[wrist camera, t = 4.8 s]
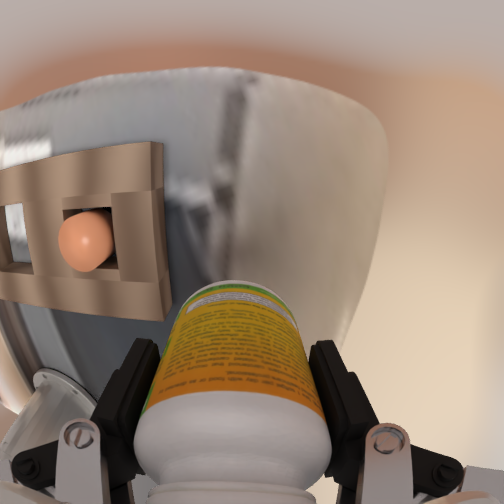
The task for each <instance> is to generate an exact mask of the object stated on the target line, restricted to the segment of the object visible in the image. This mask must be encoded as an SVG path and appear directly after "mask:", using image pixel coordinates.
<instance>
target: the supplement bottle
mask: <svg viewBox="0 0 504 504" xmlns="http://www.w3.org/2000/svg"><path fill="white" fill-rule="evenodd" d="M134 451H135V455H136V458H137V460H138V462H139V465H140V466H141V468H142V469H143V471H144V472H145V473H146V474H147V475H148V476H149V477H150V478H151V479H152V480H153V481H154V482H156V483H157V484H158V485H159V486H157V487H154V488H153V489H151V490H150V492H149V494H148V499H147V501H146V504H316V499H315V497H314V496H313V495H312V494H311V493H309V492H307V491H305V490H306V489H308V488H309V487H311V486H312V485H313V484H314V483H315V482H317V481H318V480H319V479H320V477H321V476H322V475H323V474H324V472H325V471H326V469H327V467H328V465H329V462H330V459H331V454H332V445H331V439H330V435H329V431H328V427H327V423H326V419H325V416H324V412H323V409H322V406H321V403H320V399H319V396H318V393H317V390H316V386H315V383H314V380H313V376H312V373H311V370H310V367H309V363H308V360H307V357H306V353H305V350H304V347H303V344H302V340H301V337H300V334H299V331H298V328H297V325H296V322H295V319H294V317H293V314H292V312H291V310H290V309H289V307H288V306H287V304H286V303H285V302H284V301H283V300H282V299H281V298H280V297H279V296H278V295H277V294H276V293H275V292H273V291H272V290H270V289H268V288H266V287H264V286H262V285H260V284H257V283H253V282H249V281H242V280H226V281H220V282H216V283H213V284H210V285H207V286H205V287H203V288H201V289H200V290H198V291H197V292H195V293H194V294H193V295H191V296H190V297H189V298H188V299H187V301H186V302H185V303H184V304H183V306H182V308H181V309H180V311H179V313H178V316H177V318H176V320H175V323H174V325H173V328H172V331H171V333H170V336H169V339H168V341H167V344H166V347H165V349H164V352H163V355H162V358H161V360H160V363H159V366H158V368H157V371H156V374H155V377H154V379H153V382H152V385H151V388H150V391H149V393H148V396H147V399H146V402H145V404H144V407H143V410H142V413H141V415H140V419H139V422H138V425H137V428H136V432H135V436H134Z"/></svg>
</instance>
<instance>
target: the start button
mask: <svg viewBox="0 0 504 504" xmlns="http://www.w3.org/2000/svg"><path fill="white" fill-rule="evenodd" d="M58 242H59V248H60V251H61V254H62V256H63V258H64V259H65V261H66V262H67V263H68V264H69V265H70V266H71V267H72V268H74V269H75V270H78V271H81V272H89V271H92V270H93V269H95V268H96V267H97V266H99V265H100V264H101V263H102V262H104V261H105V260H106V259H108V258H109V257H110V256H111V255H113V254H114V253H115V252H116V246H115V238H114V229H113V219H112V214H110V213H109V212H108V211H106V210H104V209H102V208H93V209H90V210H87V211H85V212H82V213H79V214H77V215H74V216H72V217H70V218H68V219H66V220H65V221H64V222H63V224H62V225H61V228H60V230H59V236H58Z"/></svg>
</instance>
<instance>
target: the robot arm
mask: <svg viewBox="0 0 504 504" xmlns="http://www.w3.org/2000/svg"><path fill="white" fill-rule="evenodd" d="M159 363H160V355H159V350H158V346H157V344H155V343H153V341H152V340H151V339H141V338H137V339H136V340H135V341H134V343H133V345H132V347H131V349H130V351H129V352H128V354H127V356H126V358H125V360H124V362H123V364H122V366H121V368H120V370H119V369H117V370H115V371H114V372H113V374H112V376H111V378H110V380H109V382H108V384H107V386H106V387H105V389H104V391H103V393H102V395H101V397H100V399H99V401H98V403H96V401H95V400H94V399H93V398H92V397H91V395H90V394H88V393H87V392H86V391H85V390H84V389H83V388H82V387H81V386H80V385H78V384H77V383H76V382H74V381H73V380H72V379H70V378H68V377H67V376H65V375H63V374H61V373H59V372H57V371H54V370H52V369H47V368H42V369H39V370H38V371H37V372H36V373H35V375H34V377H33V383H34V387H35V389H36V391H35V392H34V394H33V395H32V396H31V398H30V399H29V401H28V402H27V404H26V405H25V406H24V408H23V409H22V411H21V412H20V414H19V415H18V417H17V418H16V420H15V422H14V423H13V424H12V426H11V428H10V429H9V431H8V432H7V434H6V436H5V437H4V439H3V441H2V442H1V444H0V504H135V502H134V496H133V490H132V483H131V480H133V479H135V476H136V474H141V475H145V474H146V473H145V472H144V471H143V469H142V468H141V466H140V465H139V462H138V460H137V458H136V455H135V451H134V436H135V432H136V428H137V425H138V422H139V419H140V415H141V413H142V410H143V407H144V404H145V402H146V399H147V396H148V393H149V391H150V388H151V385H152V382H153V379H154V377H155V374H156V371H157V368H158V366H159ZM308 363H309V367H310V370H311V373H312V376H313V380H314V383H315V386H316V390H317V393H318V396H319V399H320V403H321V406H322V409H323V412H324V416H325V419H326V423H327V427H328V431H329V435H330V439H331V445H332V454H331V459H330V462H329V465H328V467H327V469H326V471H325V472H324V475H325V477H326V478H327V477H332V476H333V478H334V482H336V483H338V484H339V489H338V494H337V500H336V504H504V471H502V470H494V469H486V468H479V467H474V466H468V465H467V466H466V467H465V468H463V467H462V465H461V463H460V462H459V461H457V460H456V459H454V458H451V457H448V456H444V455H442V454H438V453H435V452H432V451H429V450H426V449H423V448H420V447H417V446H414V445H412V444H410V439H409V436H408V434H407V432H406V431H405V430H404V429H403V428H402V427H400V426H398V425H396V424H391V423H382V424H380V423H379V421H378V419H377V417H376V415H375V413H374V410H373V408H372V406H371V404H370V402H369V400H368V398H367V396H366V394H365V392H364V390H363V388H362V386H361V383H360V381H359V379H358V377H357V375H356V374H355V373H354V372H348V371H347V369H346V367H345V365H344V363H343V361H342V359H341V356H340V354H339V352H338V350H337V348H336V346H335V344H334V342H333V340H324V341H317V342H316V345H312V346H311V350H310V356H309V362H308Z"/></svg>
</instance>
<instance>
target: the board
mask: <svg viewBox="0 0 504 504" xmlns="http://www.w3.org/2000/svg"><path fill="white" fill-rule="evenodd" d="M17 203H22V204H23V213H24V221H25V228H26V235H27V241H28V246H29V252H30V257H31V261H32V263H23V262H13V258H12V253H11V248H10V243H9V237H8V231H7V225H6V217H5V209H4V205H11V204H17ZM95 207H112V219H113V229H114V238H115V246H116V254H117V257H114V256H110V257H109V258H108V259H106V260H105V261H104V262H102V263H101V264H100V265H99V266H97V267H96V268H95V269H93V270H92V271H89V272H81V271H78V270H75V269H74V268H72V267H71V266H70V265H69V264H68V263H67V262H66V261H65V259H64V258H63V256H62V254H61V251H60V248H59V242H58V236H59V230H60V228H61V225H62V224H63V222H64V221H65V220H66V219H68V218H70V217H72V216H74V215H77V214H79V213H82V210H81V208H95ZM0 299H4V300H8V301H13V302H18V303H23V304H29V305H34V306H40V307H45V308H51V309H58V310H64V311H71V312H78V313H85V314H93V315H101V316H109V317H119V318H129V319H139V320H151V321H164V320H165V318H166V316H167V314H168V312H169V310H170V308H171V306H172V296H171V287H170V277H169V267H168V256H167V243H166V229H165V210H164V183H163V144H162V143H156V142H141V143H132V144H124V145H116V146H109V147H102V148H96V149H90V150H84V151H78V152H73V153H68V154H63V155H58V156H54V157H49V158H45V159H41V160H37V161H33V162H29V163H25V164H21V165H18V166H14V167H10V168H7V169H4V170H1V171H0Z"/></svg>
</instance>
